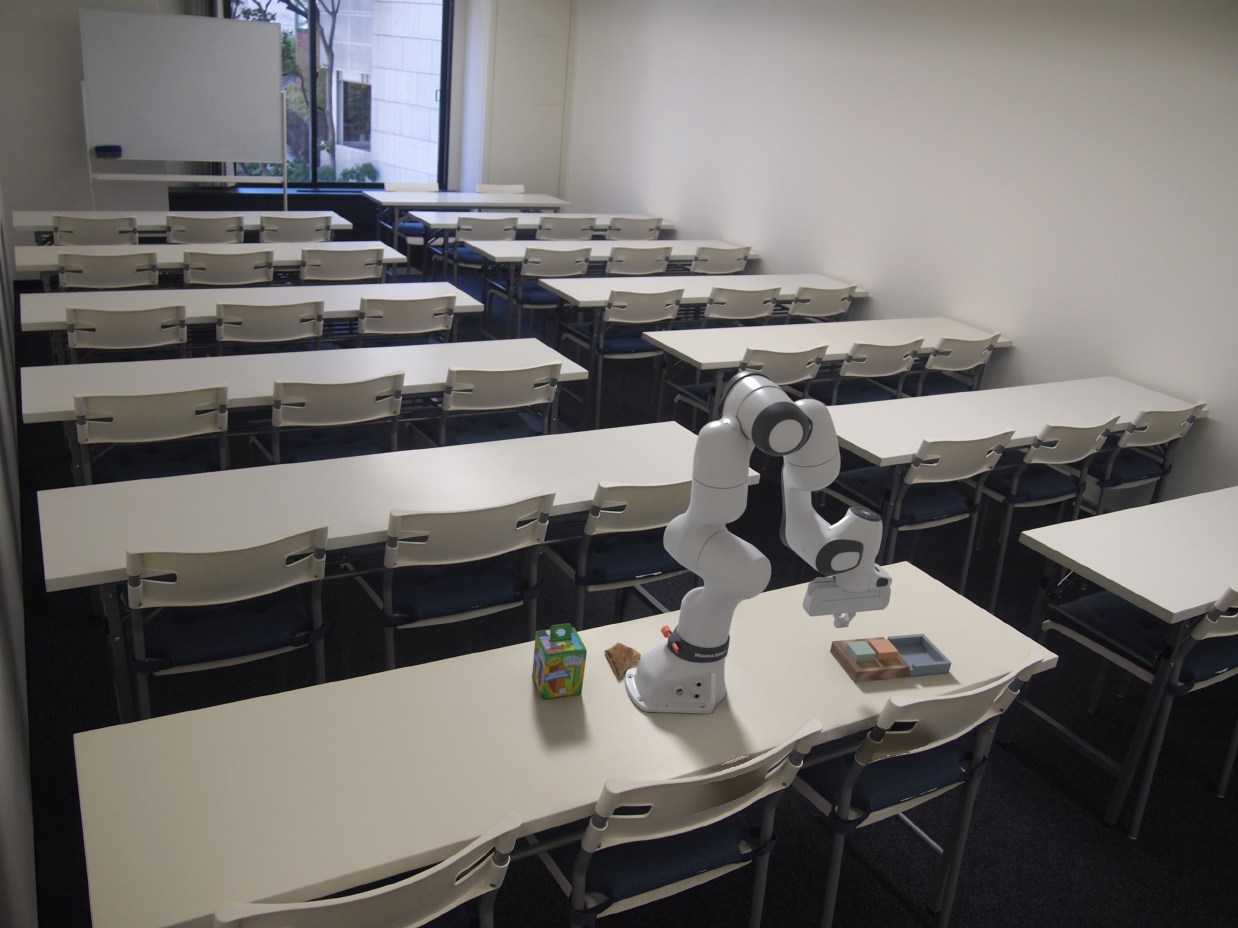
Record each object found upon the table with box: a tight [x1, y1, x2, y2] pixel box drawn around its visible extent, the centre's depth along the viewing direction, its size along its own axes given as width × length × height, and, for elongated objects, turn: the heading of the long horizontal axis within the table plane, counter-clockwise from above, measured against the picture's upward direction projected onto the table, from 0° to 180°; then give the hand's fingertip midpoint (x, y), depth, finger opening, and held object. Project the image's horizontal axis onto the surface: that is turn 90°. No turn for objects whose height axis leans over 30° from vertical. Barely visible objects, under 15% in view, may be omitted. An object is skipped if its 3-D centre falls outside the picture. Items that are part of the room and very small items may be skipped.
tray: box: [887, 633, 952, 678], centre depth 221 cm, size 11×12×3 cm
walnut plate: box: [829, 636, 910, 683], centre depth 217 cm, size 14×12×3 cm
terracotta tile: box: [868, 638, 898, 660], centre depth 217 cm, size 5×5×2 cm
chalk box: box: [531, 622, 588, 700], centre depth 196 cm, size 9×9×15 cm
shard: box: [604, 642, 642, 680], centre depth 208 cm, size 11×8×2 cm
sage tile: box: [845, 641, 876, 662], centre depth 215 cm, size 5×5×2 cm
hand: (840, 626), depth 210 cm, fingers closed
